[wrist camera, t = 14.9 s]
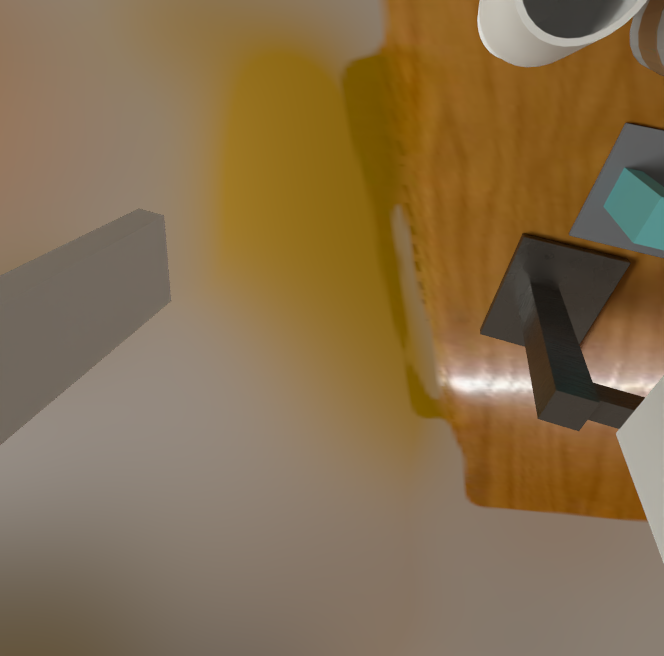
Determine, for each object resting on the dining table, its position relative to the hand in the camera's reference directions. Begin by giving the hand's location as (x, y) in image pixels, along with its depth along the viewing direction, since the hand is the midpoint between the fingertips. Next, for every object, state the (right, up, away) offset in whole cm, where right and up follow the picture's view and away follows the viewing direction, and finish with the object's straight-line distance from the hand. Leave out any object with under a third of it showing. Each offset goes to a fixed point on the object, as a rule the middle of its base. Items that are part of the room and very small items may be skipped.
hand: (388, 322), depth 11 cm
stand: (+24, +2, +34) cm, 42 cm away
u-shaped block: (+27, +11, +26) cm, 39 cm away
